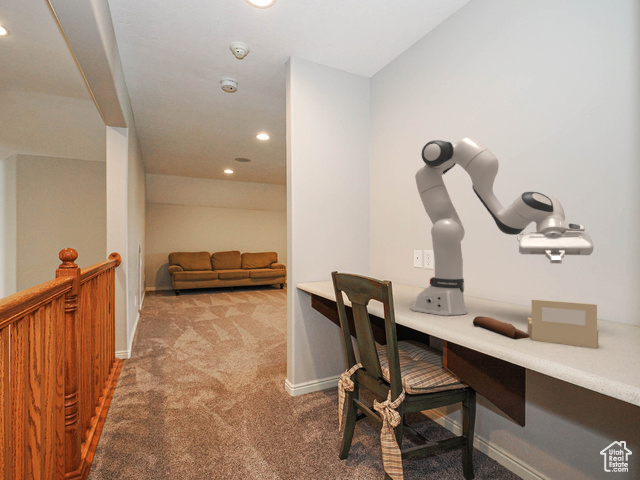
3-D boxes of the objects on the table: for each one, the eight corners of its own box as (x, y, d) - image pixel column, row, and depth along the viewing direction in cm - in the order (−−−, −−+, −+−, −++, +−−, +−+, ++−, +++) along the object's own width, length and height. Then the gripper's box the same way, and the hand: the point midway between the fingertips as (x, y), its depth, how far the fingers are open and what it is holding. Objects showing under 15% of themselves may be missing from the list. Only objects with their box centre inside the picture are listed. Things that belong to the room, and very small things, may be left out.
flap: (531, 340, 96) (531, 299, 96) (531, 339, 97) (531, 299, 97) (597, 348, 88) (596, 304, 88) (596, 347, 89) (596, 304, 89)
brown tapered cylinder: (537, 338, 98) (528, 320, 98) (521, 351, 97) (512, 333, 96) (491, 323, 116) (484, 308, 115) (477, 334, 114) (469, 319, 114)
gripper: (517, 226, 116) (518, 255, 108) (590, 225, 106) (597, 256, 97) (517, 239, 120) (518, 267, 111) (587, 238, 110) (594, 269, 101)
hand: (556, 262), depth 104 cm, fingers closed
